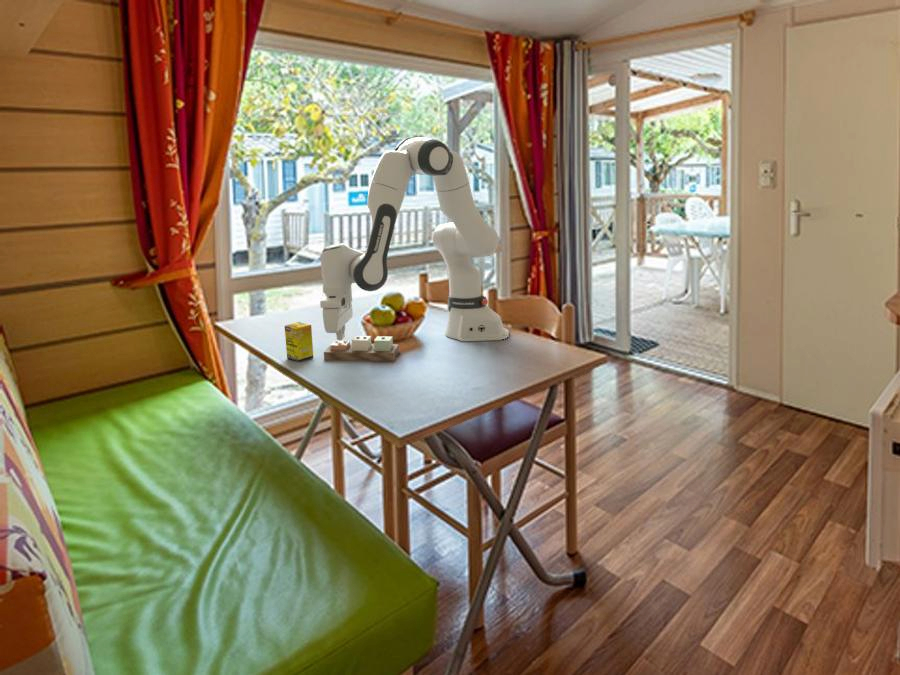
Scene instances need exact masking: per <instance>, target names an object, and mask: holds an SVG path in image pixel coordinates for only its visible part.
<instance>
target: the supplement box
mask: <svg viewBox="0 0 900 675" xmlns="http://www.w3.org/2000/svg"><path fill="white" fill-rule="evenodd" d="M312 332H313V331H312V325H311V324H309V323H303V322H301V321H297V322H294V323H293V322H292V323H289V324H286V325H284V337H285V347H286V348H285V349H286V359H287V360H291V361H293V362H294V361H295V362H298V363H301V362H304V361H307V360H310V359H313V358H314V345H313V333H312Z"/></svg>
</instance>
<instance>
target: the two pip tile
mask: <svg viewBox="0 0 900 675" xmlns="http://www.w3.org/2000/svg"><path fill="white" fill-rule="evenodd" d="M351 344H352V351H369V350H370V349H371V344H372V335H355V336H354V337H353V338H352V339H351Z"/></svg>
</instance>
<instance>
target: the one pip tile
mask: <svg viewBox="0 0 900 675" xmlns="http://www.w3.org/2000/svg"><path fill="white" fill-rule="evenodd" d="M373 344H374V351H391V350H392V349H393V344H394V337H393V336H390V335H389V336H386V335H383V336H380V335H377V336H376V337H375V338H374V340H373Z"/></svg>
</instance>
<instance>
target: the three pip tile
mask: <svg viewBox="0 0 900 675" xmlns="http://www.w3.org/2000/svg"><path fill="white" fill-rule="evenodd" d="M350 343H351V341H350V340H334V341H332V343H331V344H330V345H329V346H330V348H331V350H348V349H349V347H350Z"/></svg>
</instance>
